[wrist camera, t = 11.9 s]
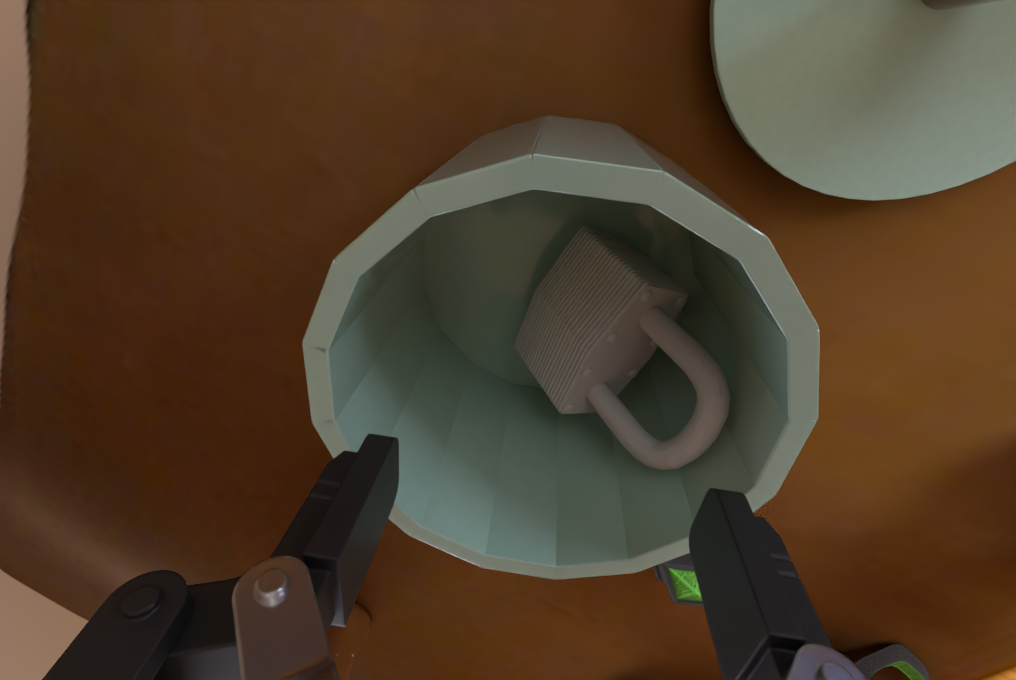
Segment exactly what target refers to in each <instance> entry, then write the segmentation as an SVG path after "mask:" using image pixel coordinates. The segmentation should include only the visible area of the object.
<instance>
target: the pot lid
mask: <svg viewBox="0 0 1016 680" xmlns="http://www.w3.org/2000/svg"><path fill="white" fill-rule="evenodd" d="M710 47H711V54H712V61H713V68H714V74H715V77H716V81H717V84H718V88H719V91H720V95H721V98H722V101H723V103H724V105H725V107H726V110H727V112H728V114H729V116H730V119H731V121H732V123H733V124H734V126H735V127H736V129H737V130H738V132H739V133H740V135H741V136H742V138H743V140H744V141H745V142H746V143H747V145H748V146H749V147H750V148H751V149H752V150H753V151H754V152H755V153H756V154H757V156H758V157H759V158H760V159H761V160H763V161H764V162H765V163H766V164H768V165H769V166H770V167H771V168H773V169H774V170H775V171H777V172H778V173H779V174H781V175H783V176H785V177H787V178H788V179H790V180H792V181H794V182H796V183H798V184H800V185H802V186H804V187H807V188H810V189H812V190H815V191H818V192H821V193H823V194H827V195H832V196H837V197H842V198H847V199H857V200H873V201H876V200H893V199H904V198H910V197H916V196H921V195H927V194H931V193H935V192H938V191H942V190H945V189H949V188H953V187H956V186H959V185H962V184H965V183H967V182H970V181H972V180H975V179H977V178H980V177H983V176H985V175H988V174H990V173H992V172H994V171H996V170H998V169H1000V168H1002V167H1004V166H1006V165H1008V164H1010V163H1012V162H1014V161H1016V0H711V2H710Z"/></svg>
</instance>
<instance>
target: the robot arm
mask: <svg viewBox="0 0 1016 680" xmlns="http://www.w3.org/2000/svg"><path fill="white" fill-rule="evenodd" d="M398 485H399V441H398V438H396V437H390V436H384V435H377V434H371V433H369V434H368V435H367V436H366V438H365V439H364V441H363V443H362V445H361V447H360V448H359V450H358V452H352V451H345V450H344V451H343V452H342V453H340V454H339V455H338V456H337V457H335V458H334V459H333V460H331V461H330V462H329V463H328V464H327V465H326V467H325V469H324V470H323V472H322V474H321V475H320V477H319V478H318V480H317V484H315V485H314V487H313V488H312V490H311V492H310V493H309V497H308V498H306V500H305V502H304V503H303V505H302V507H301V508H300V510H299V511H298V513H297V515H296V516H295V518H294V520H293V521H292V523H291V525H290V526H289V528H288V530H287V531H286V533H285V535H284V536H283V538H282V540H281V541H280V543H279V544H278V546H277V548H276V549H275V551H274V552H273V554H272V555H271V556H270V557H269V558H267V559H265V560H262V561H260V562H258V563H257V564H255V565H253V566H252V567H251V568H249V569H248V570H247V571H246V572H245V573H244V574H243V575H242V576H240V577H237V578H234V579H229V580H223V581H216V582H209V583H202V584H195V585H188V586H187V584H186V581H185V580H184V578H183V577H182V576H181V575H180V574H178V573H176V572H173V571H168V570H159V571H153V572H148V573H145V574H142V575H140V576H137V577H135V578H133V579H131V580H130V581H128V582H126V583H125V584H123V585H122V586H120V587H119V588H118V589H116V590H115V591H114V592H113V593H112V594H111V595H110V596H109V597H108V598H107V599H106V600H105V602H104V603H103V604H102V605H101V607H100V608H99V609H98V610H97V612H96V613H95V614H94V615H93V617H92V618H91V619H90V620H89V622H88V623H87V624H86V625H85V627H84V628H83V629H82V630H81V632H80V633H79V634H78V635H77V637H76V638H75V639H74V640H73V642H72V643H71V644H70V646H69V647H68V648H67V649H66V650H65V652H64V653H63V654H62V656H61V657H60V658H59V659H58V660H57V662H56V663H55V664H54V665H53V667H52V668H51V669H50V670H49V672H48V673H47V674H46V676H45V677H44V678H43V679H42V680H340V677H339V674H338V670H337V667H336V665H335V663H334V662H333V659H332V655H331V652H330V648H329V644H328V641H327V637H326V635H327V633H328V631H329V628H330V626H331V625H336V626H342V627H345V626H346V624H347V621H348V619H349V616H350V614H351V611H352V609H353V606H354V604H355V601H356V599H357V596H358V593H359V591H360V588H361V586H362V583H363V581H364V578H365V576H366V573H367V571H368V568H369V566H370V563H371V561H372V558H373V556H374V553H375V550H376V548H377V545H378V543H379V540H380V538H381V535H382V533H383V530H384V528H385V525H386V523H387V520H388V518H389V515H390V513H391V510H392V508H393V505H394V502H395V499H396V495H397V491H398ZM689 551H690V555H691V559H692V563H693V567H694V570H695V574H696V578H697V582H698V586H699V590H700V594H701V597H702V601H703V605H704V609H705V613H706V617H707V620H708V624H709V628H710V632H711V636H712V640H713V643H714V647H715V651H716V655H717V659H718V663H719V666H720V670H721V674H722V678H723V680H867V679H866V677H865V676H864V675H863V673H862V672H861V671H860V670H859V669H858V668H857V666H856V665H854V664H853V663H852V662H851V661H850V660H849V659H848V658H846V657H845V656H844V655H842V654H841V653H839V652H838V651H836V650H834V649H833V648H832V646H831V644H830V642H829V640H828V638H827V636H826V633H825V631H824V629H823V627H822V625H821V623H820V621H819V618H818V616H817V614H816V612H815V610H814V608H813V605H812V603H811V601H810V599H809V597H808V595H807V593H806V590H805V588H804V586H803V584H802V582H801V580H800V579H798V573H797V571H796V569H795V567H794V565H793V562H792V561H790V556H789V554H788V552H787V550H786V547H785V545H784V543H783V541H782V539H781V537H780V536H779V534H778V533H777V532H776V531H775V530H774V529H773V528H772V526H771V525H770V524H769V523H768V522H767V521H766V520H765V518H763V517H756V516H754V514H753V512H752V509H751V507H750V505H749V502H748V500H747V498H746V496H745V495H744V494H743V493H741V492H735V491H729V490H723V489H716V488H710V489H709V490H708V491H707V493H706V495H705V497H704V499H703V501H702V503H701V506H700V508H699V510H698V512H697V515H696V517H695V519H694V521H693V523H692V526H691V528H690V533H689Z"/></svg>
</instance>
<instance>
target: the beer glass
mask: <svg viewBox="0 0 1016 680" xmlns="http://www.w3.org/2000/svg"><path fill="white" fill-rule="evenodd" d="M370 627H371V619H370V616H369V614H368V613H367V612H366V610H365V609H364V608H363V607H361V606H360V605H359V604H357V603H355V604H354V606H353V609H352V611H351V614H350V616H349V619H348V621H347V624H346V626H345V627H342V626H336V625H331V626H330V628H329V631H328V633H327V635H326V637H327V641H328V644H329V648H330V652H331V655H332V659H333V662H334V663H335V665H336V667H337V670H338V674H339V677H340V680H348V676H349V673H350V670H351V666H352V664H353V661H354V659H355V656H356V654H357V652H358V650H359V648H360V646H361V645H362V643H363V641H364V639H365V637H366V635H367V633H368V631H369V629H370Z"/></svg>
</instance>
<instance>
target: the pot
mask: <svg viewBox="0 0 1016 680" xmlns="http://www.w3.org/2000/svg"><path fill="white" fill-rule="evenodd" d="M582 226H586V227H589V228H593V229H596V230H599V231H603V232H606V233H609V234H613V235H616V236H619V237H623V238H624V239H625V240H626V241H628V243H629V244H631V245H632V246H634V248H636V249H637V250H638V251H639V252H640V253H642V254H643V255H644V256H645V257H647V258H648V260H650V261H651V262H653V263H654V265H656V266H657V267H659V269H660V270H662V271H663V273H666V274H667V275H668V276H669V277H670V278H671V279H673V281H675V282H676V284H679V285H680V287H683V289H684V290H686V291H687V294H688V298H687V300H686V303H685V305H684V306H683V307H682V308H681V309H680V311H679V313H678V314H677V316H676V317H675V319H674V321H675V322H676V323H677V324H678V325H679V326H680V327H682V328H683V329H684V330H685V331H686V332H687V333H688V334H689V335H690V336H691V337H692V338H694V339H695V340H696V341H697V342H698V343H699V344H700V345H701V346H702V347H703V348H704V349H706V350H707V351H708V353H709V354H710V355H711V356H712V357H713V359H714V360H715V361H716V362H717V363H718V365H719V366H720V368H721V370H722V371H723V373H724V375H725V377H726V379H727V382H728V387H729V392H730V405H729V414H728V417H727V419H726V421H725V423H724V425H723V428H722V430H721V432H720V434H719V436H718V437H717V438H716V440H715V441H714V442H713V443H712V445H711V446H710V447H709V448H708V449H707V450H706V451H705V452H704V453H703V454H702V455H701V456H699V457H698V458H697V459H696V460H694V461H692V462H690V463H688V464H686V465H685V466H683V467H681V468H679V469H673V470H658V469H654V468H651V467H648V466H646V465H644V464H643V463H641V462H640V461H639V460H637V459H636V458H634V457H633V456H632V455H631V454H630V452H629V451H628V450H627V449H626V448H625V447H624V446H623V445H622V444H621V443H620V441H619V440H618V439H617V437H616V436H615V435H614V433H613V432H612V431H611V430H610V428H609V427H608V426H607V424H606V423H605V422H604V420H603V419H602V418H601V416H600V415H599V414H598V413H576V414H561V412H558V409H556V407H555V405H553V402H551V400H550V399H549V398H548V395H546V392H544V389H542V388H541V385H539V382H537V380H536V379H535V377H534V376H533V374H532V373H531V371H530V370H529V368H528V367H527V365H525V362H523V360H522V359H521V357H520V356H519V354H518V353H517V351H516V349H514V343H515V341H516V338H517V335H518V333H519V330H520V328H521V325H522V323H523V320H524V318H525V315H526V312H527V310H528V307H529V305H530V302H531V300H532V297H533V294H534V292H535V289H536V288H537V286H538V285H539V284H540V282H541V281H542V279H543V278H544V277H545V275H546V274H547V272H548V271H549V270H550V268H551V267H552V266H553V264H554V263H555V261H556V260H557V259H558V257H559V256H560V254H561V253H562V252H563V250H564V249H565V247H566V246H567V245H568V243H569V242H570V241H571V239H572V238H573V236H574V235H575V234H576V232H577V231H578V229H579V228H580V227H582ZM302 343H303V344H302V347H303V355H304V363H305V371H306V379H307V387H308V395H309V404H310V412H311V420H312V424H313V425H314V427H315V429H316V430H317V432H318V434H319V435H320V437H321V439H322V440H323V442H324V444H325V445H326V447H327V449H328V450H329V452H330V454H331V455H332V457H333V459H334V458H335V457H337V456H338V455H339V454H340V453H342V452H343V451H344V450H345V451H352V452H358V450H359V448H360V447H361V445H362V443H363V441H364V439H365V438H366V436H367V435H368V434H369V433H371V434H377V435H384V436H390V437H396V438H398V441H399V485H398V491H397V495H396V499H395V502H394V505H393V508H392V510H391V513H390V515H389V518H388V519H389V520H391V521H392V522H393V523H394V524H395V525H397V526H398V527H399V528H400V529H401V530H403V531H404V532H405V533H406V534H407V535H410V536H411V537H413V538H415V539H417V540H420V541H422V542H424V543H426V544H429V545H431V546H433V547H436V548H438V549H440V550H442V551H445V552H447V553H449V554H451V555H454V556H456V557H458V558H461V559H463V560H465V561H467V562H470V563H472V564H474V565H476V566H480V567H481V568H487V569H493V570H499V571H505V572H511V573H517V574H523V575H530V576H536V577H542V578H548V579H554V580H556V579H558V580H560V579H571V578H583V577H594V576H606V575H618V574H629V573H636V572H640V571H642V570H645V569H648V568H651V567H653V566H656V565H659V564H661V563H664V562H667V561H670V560H672V559H675V558H678V557H680V556H683V555H686V554H689V553H690V551H689V533H690V528H691V526H692V523H693V521H694V519H695V517H696V515H697V512H698V510H699V508H700V506H701V503H702V501H703V499H704V497H705V495H706V493H707V491H708V490H709V489H710V488H716V489H723V490H729V491H735V492H741V493H743V494H744V495H745V496H746V498H747V500H748V502H749V505H750V507H751V509H752V512H753V513H754V512H755V511H756V510H757V509H759V508H760V507H761V506H762V505H764V504H765V503H766V502H767V501H769V500H770V499H771V498H773V497H774V496H775V495H776V492H778V490H779V489H780V487H781V485H782V483H783V481H784V480H785V478H786V476H787V474H788V472H789V471H790V469H791V467H792V465H793V463H794V462H795V460H796V458H797V456H798V454H799V453H800V451H801V449H802V447H803V445H804V444H805V442H806V440H807V438H808V436H809V435H810V433H811V431H812V429H813V428H814V426H815V424H816V421H817V419H818V404H819V346H820V330H819V326H818V324H817V322H816V320H815V319H814V317H813V315H812V313H811V311H810V310H809V308H808V306H807V304H806V303H805V301H804V299H803V297H802V296H801V294H800V292H799V290H798V289H797V287H796V285H795V283H794V281H793V280H792V278H791V276H790V274H789V273H788V271H787V269H786V267H785V266H784V264H783V262H782V260H781V258H780V257H779V255H778V253H777V251H776V250H775V248H774V246H773V244H772V243H771V241H770V239H769V238H768V237H767V236H766V235H765V234H764V233H762V232H761V231H760V230H759V229H757V228H756V227H755V226H754V225H752V224H751V223H750V222H749V221H747V220H746V219H745V218H744V217H742V216H741V215H740V214H739V213H737V212H736V211H735V210H734V209H732V208H731V207H730V206H729V205H727V204H726V203H725V202H724V201H722V200H721V199H720V198H719V197H717V196H716V195H715V194H714V193H713V192H711V191H710V190H709V189H708V188H706V187H705V186H704V185H703V184H701V183H700V182H699V181H698V180H696V179H695V178H694V177H693V176H691V175H690V174H689V173H688V172H686V171H685V170H684V169H683V168H681V167H680V166H679V165H678V164H676V163H675V162H674V161H673V160H671V159H670V158H668V157H667V156H665V155H663V154H662V153H660V152H659V151H657V150H656V149H654V148H653V147H651V146H649V145H648V144H646V143H645V142H644V141H642V140H640V139H639V138H637V137H635V136H634V135H632V134H631V133H629V132H628V131H626V130H624V129H623V128H621V127H620V126H618V125H616V124H612V123H605V122H597V121H591V120H586V119H580V118H566V117H558V116H551V115H547V116H542V117H539V118H536V119H533V120H529V121H526V122H522V123H518V124H514V125H511V126H509V127H506V128H503V129H500V130H497V131H494V132H490V133H487V134H484V135H482V136H481V137H479V138H478V139H476V140H475V141H474V142H472V143H471V144H470V145H468V146H467V147H466V148H465V149H463V150H462V151H461V152H459V153H458V154H457V155H455V156H454V157H453V158H452V159H450V160H449V161H448V162H446V163H445V164H444V165H442V166H441V167H440V168H438V169H437V170H436V171H435V172H433V173H432V174H431V175H429V176H428V177H427V178H425V179H424V180H423V181H421V182H420V183H419V184H418V185H416V186H415V187H414V188H412V189H411V190H410V191H409V192H408V193H406V194H405V195H404V196H403V197H402V198H401V199H400V200H399V201H397V202H396V203H395V204H394V205H393V206H392V207H391V208H390V209H388V210H387V211H386V212H385V213H384V214H383V215H382V216H381V217H380V218H378V219H377V220H376V221H375V222H374V223H373V224H372V225H371V226H369V227H368V228H367V229H366V230H365V231H364V232H363V233H362V234H360V235H359V236H358V237H357V238H356V239H355V240H354V241H353V242H352V243H350V244H349V245H348V246H347V247H346V248H345V249H344V250H343V251H341V252H340V253H339V254H338V255H337V256H336V258H335V259H334V260H333V261H332V263H331V266H330V269H329V271H328V274H327V277H326V279H325V282H324V285H323V287H322V290H321V293H320V295H319V298H318V301H317V303H316V306H315V309H314V311H313V314H312V317H311V320H310V322H309V325H308V328H307V330H306V333H305V336H304V338H303V341H302ZM617 397H618V398H619V400H620V401H621V402H622V403H623V404H624V406H625V407H626V408H627V409H628V411H629V412H630V413H631V414H632V415H633V417H634V418H635V419H636V420H637V421H638V423H639V424H640V425H641V426H642V427H643V429H644V430H645V431H647V432H648V433H649V434H650V435H651V436H652V437H654V438H656V439H657V440H659V441H667V440H669V439H671V438H673V437H674V436H676V435H677V434H678V433H679V432H680V431H681V430H682V429H683V428H684V427H685V426H686V424H687V423H688V422H689V420H690V419H691V417H692V415H693V413H694V411H695V407H696V403H697V393H696V390H695V388H694V386H693V383H692V382H691V380H690V379H689V378H688V376H687V375H686V373H685V372H684V371H683V370H682V369H681V368H680V367H679V366H678V365H677V364H676V363H675V362H674V361H673V360H672V359H671V358H670V357H669V356H668V355H667V354H666V353H665V352H664V351H663V350H662V349H661V348H660V347H659V346H658V347H657V348H656V350H655V352H654V353H653V355H652V356H651V358H650V359H649V360H648V362H647V363H646V364H645V365H644V366H643V367H642V368H641V369H640V371H639V372H638V373H637V375H636V376H635V377H634V378H632V379H631V381H630V382H629V383H628V384H627V385H626V386H625V387H624V388H623V390H622V391H621V392H620V393H619V394H618V395H617Z"/></svg>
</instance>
